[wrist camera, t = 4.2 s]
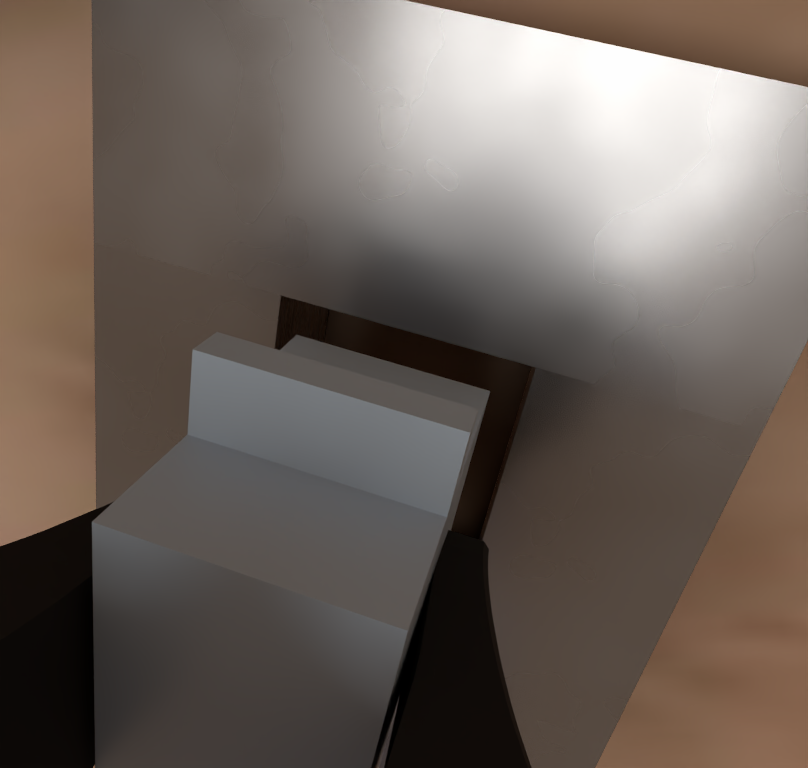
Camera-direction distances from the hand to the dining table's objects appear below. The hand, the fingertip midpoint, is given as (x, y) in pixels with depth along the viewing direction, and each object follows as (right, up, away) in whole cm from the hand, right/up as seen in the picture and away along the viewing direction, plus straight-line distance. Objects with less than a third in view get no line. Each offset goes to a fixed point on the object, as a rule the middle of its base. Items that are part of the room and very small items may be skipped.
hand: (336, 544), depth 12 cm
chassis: (+1, +2, +5) cm, 5 cm away
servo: (0, +1, +1) cm, 2 cm away
